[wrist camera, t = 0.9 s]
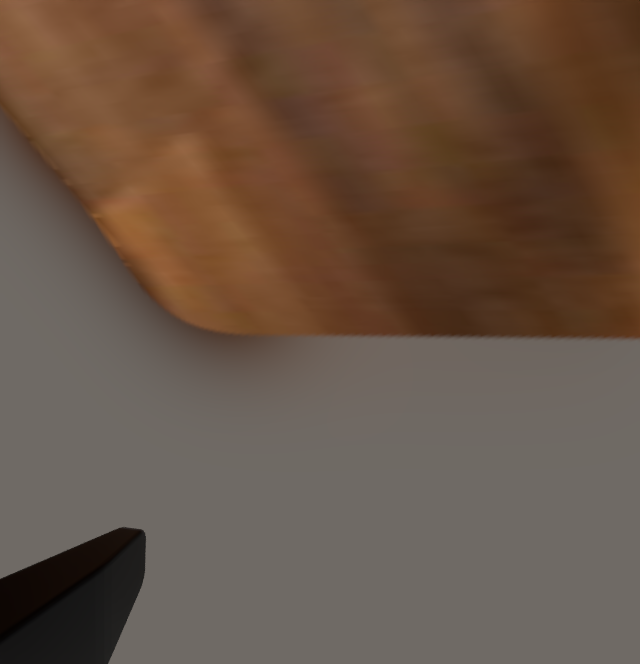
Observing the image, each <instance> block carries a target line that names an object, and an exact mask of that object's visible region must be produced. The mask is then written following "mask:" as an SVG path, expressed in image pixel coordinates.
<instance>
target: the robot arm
mask: <svg viewBox="0 0 640 664" xmlns="http://www.w3.org/2000/svg"><path fill="white" fill-rule="evenodd" d="M145 548H146V536H145V532H144V531H143V530H141V529H134V528H126V527H122V528H118V529H116V530H113V531H111V532H109V533H106V534H104V535H102V536H99V537H97V538H95V539H92V540H90V541H88V542H85V543H83V544H81V545H78V546H76V547H74V548H71V549H69V550H67V551H64V552H62V553H60V554H57V555H55V556H53V557H50V558H48V559H46V560H43V561H41V562H38V563H36V564H34V565H32V566H29V567H27V568H25V569H22V570H20V571H17V572H15V573H13V574H10V575H8V576H6V577H3V578H1V579H0V664H108V662H109V660H110V658H111V656H112V653H113V651H114V649H115V646H116V644H117V642H118V640H119V637H120V635H121V632H122V630H123V628H124V625H125V623H126V621H127V619H128V616H129V614H130V612H131V610H132V607H133V605H134V603H135V600H136V598H137V596H138V593H139V591H140V589H141V586H142V583H143V579H144V573H145Z"/></svg>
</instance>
